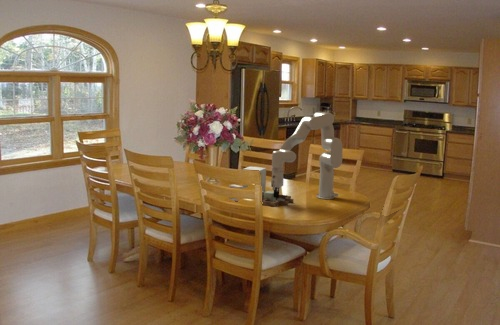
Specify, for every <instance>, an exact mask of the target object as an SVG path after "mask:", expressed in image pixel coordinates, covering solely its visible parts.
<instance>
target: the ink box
mask: <svg viewBox="0 0 500 325" xmlns="http://www.w3.org/2000/svg"><path fill="white" fill-rule="evenodd" d="M229 188H240V189H243V186H242V185H238V184H229V185H228V189H229ZM229 198H230V197H229V196H228V199H229ZM230 199H231V200H233V201H235V202H238V201H239V199H236V198H230Z"/></svg>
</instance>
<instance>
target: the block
mask: <svg viewBox="0 0 500 325" xmlns="http://www.w3.org/2000/svg"><path fill="white" fill-rule="evenodd" d="M264 198H268V199H270V202H277V201H276V198H275V197H274V190H267V191H266V190H265V192H264Z"/></svg>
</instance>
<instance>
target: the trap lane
mask: <svg viewBox="0 0 500 325" xmlns="http://www.w3.org/2000/svg"><path fill="white" fill-rule="evenodd" d="M262 202H263V205H262V206H268V207H274V208H276V207H278V206H286V205H287V206H289V203H291V204H294V198H292V196H291V195H287V194H286V195H285V194H280V193H279V198H276V201H274V202H270V199H268V198H264V191H262ZM262 202H261V203H262Z"/></svg>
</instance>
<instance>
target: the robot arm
mask: <svg viewBox="0 0 500 325" xmlns="http://www.w3.org/2000/svg"><path fill="white" fill-rule="evenodd" d="M334 122H335V116H334V114H333V113H331V112H327V111H316V112H314V113H313V116H312V115H311V116H309V115H306V116H303V117H302V118H301V119H300V122H299V123H298V125H297V127H296V128H295V131H294V132H293V134H292V135H290V136H289V137H288V138H287V139H286V140H285V141H284V142H283V143H282V145H281V146H280V148H279V150H273V151H272V154H271V178H270V187H271V188H272V190H271V191H273V192H274V197H275V198H279V194H280V190H281V187H283V186H284V163H294V162H295V161H296V160H297V153H295V152H294V151H292V149H293V148H294V147H295V146H296V145H299V144H301V143H303V142H305V141H306V138H307V137H308V135H309V133H310V132H311V130H313V131H315V130H316V131H317V130H320V133H321V138H320V140H321V148H322V149H323V150H325V151H324V152H322V153H321V154H320V156H319V157H318V159H319V160H318V161H319V162H318V163H319V182H318V184H319V185H318V194H316V198H318V199H320V200H321V199H323V200H333V199H335V197H336V198H337V197H338V198H339V193H335V191H334V178H335V177H334V176H335V171H334V169H337V168H339V167H341V166H342V163H343V155H344V154H343V151H344V150H343V149H344V148H343V142H342V140H341V139H340V138H339V137H335V128H334V125H333V123H334Z"/></svg>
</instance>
